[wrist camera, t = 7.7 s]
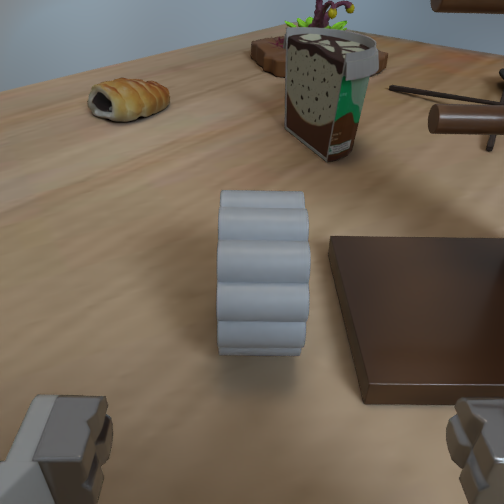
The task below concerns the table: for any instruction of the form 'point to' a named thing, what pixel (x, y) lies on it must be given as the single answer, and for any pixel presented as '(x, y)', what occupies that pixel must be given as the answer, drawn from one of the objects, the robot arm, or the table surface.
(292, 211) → the grey knurled ring
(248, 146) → the table surface
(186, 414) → the table surface
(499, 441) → the robot arm
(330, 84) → the halved ice cream tub
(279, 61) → the plant
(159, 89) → the pastry
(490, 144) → the sushi plate
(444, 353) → the stand
